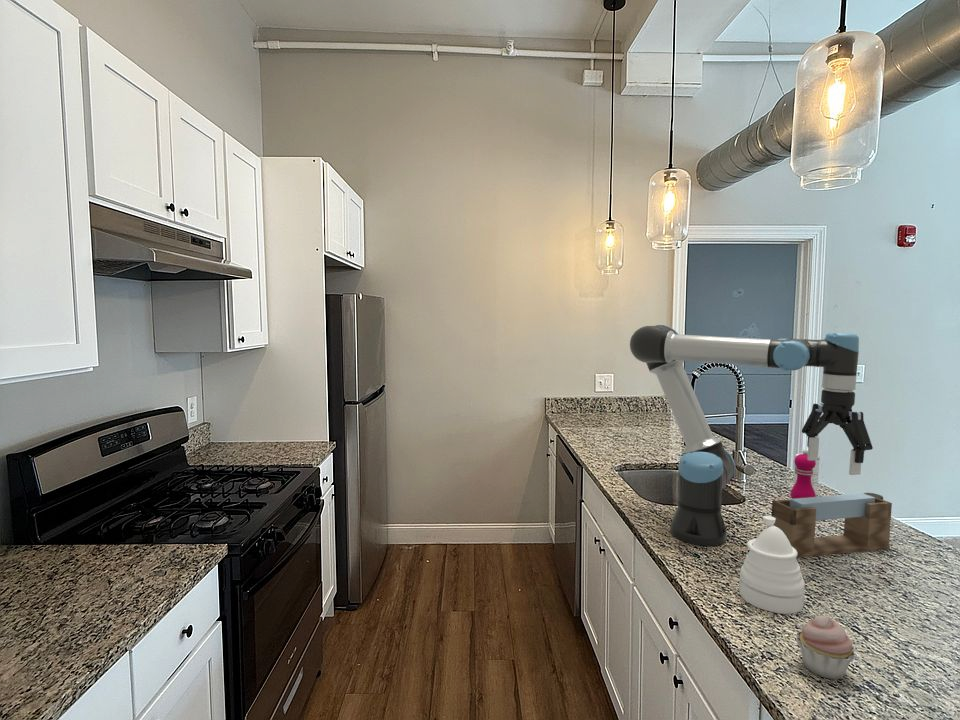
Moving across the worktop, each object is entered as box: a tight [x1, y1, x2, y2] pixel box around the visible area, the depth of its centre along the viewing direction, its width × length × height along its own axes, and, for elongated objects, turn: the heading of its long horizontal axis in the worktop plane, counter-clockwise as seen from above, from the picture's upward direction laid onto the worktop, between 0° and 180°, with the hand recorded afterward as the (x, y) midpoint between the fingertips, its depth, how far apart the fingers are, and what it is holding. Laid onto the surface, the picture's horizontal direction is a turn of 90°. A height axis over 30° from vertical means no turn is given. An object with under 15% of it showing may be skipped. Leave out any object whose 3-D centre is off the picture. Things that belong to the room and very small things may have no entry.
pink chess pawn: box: [792, 452, 820, 497], centre depth 188 cm, size 6×6×14 cm
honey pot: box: [738, 515, 806, 615], centre depth 119 cm, size 13×13×18 cm
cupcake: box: [795, 615, 857, 680], centre depth 95 cm, size 9×9×10 cm
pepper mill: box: [790, 449, 817, 499], centre depth 174 cm, size 7×7×20 cm
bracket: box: [771, 494, 893, 559], centre depth 145 cm, size 31×8×13 cm, turn 101°
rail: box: [789, 492, 875, 522], centre depth 144 cm, size 24×4×5 cm, turn 102°
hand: (832, 466), depth 144 cm, fingers open, 13 cm apart
